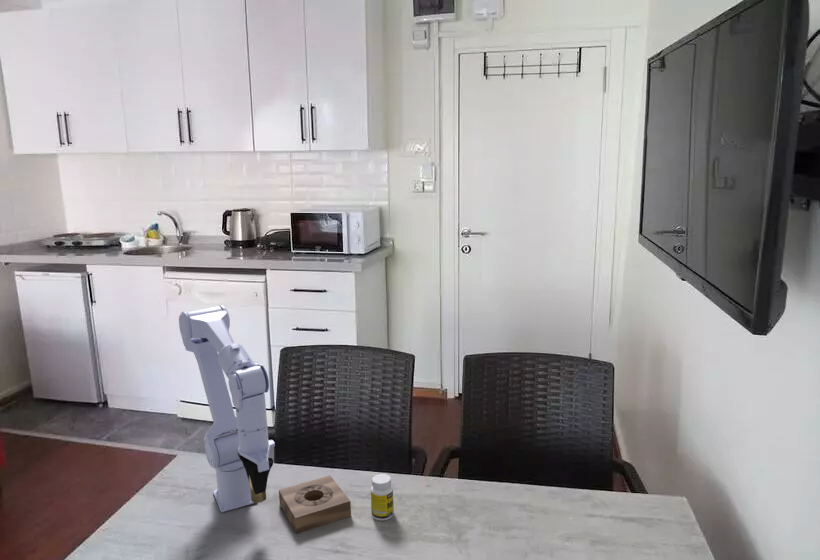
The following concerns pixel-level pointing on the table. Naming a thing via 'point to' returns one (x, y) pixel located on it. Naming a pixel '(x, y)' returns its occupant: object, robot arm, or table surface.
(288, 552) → the table surface
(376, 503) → the supplement bottle
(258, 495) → the brass peg
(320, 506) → the socket block
